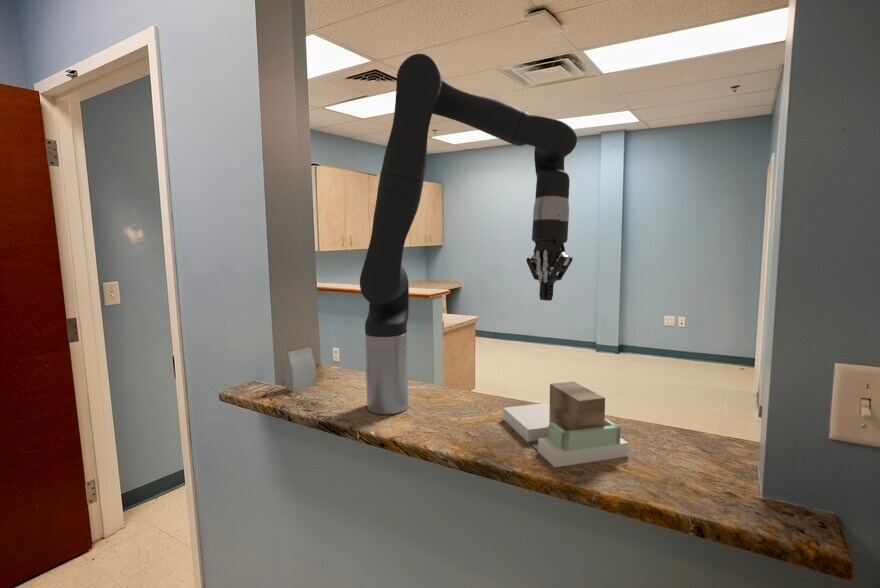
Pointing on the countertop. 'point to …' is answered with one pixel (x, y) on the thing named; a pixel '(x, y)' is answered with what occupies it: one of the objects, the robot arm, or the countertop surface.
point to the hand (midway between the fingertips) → (545, 300)
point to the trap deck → (565, 437)
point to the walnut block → (575, 407)
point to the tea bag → (300, 370)
